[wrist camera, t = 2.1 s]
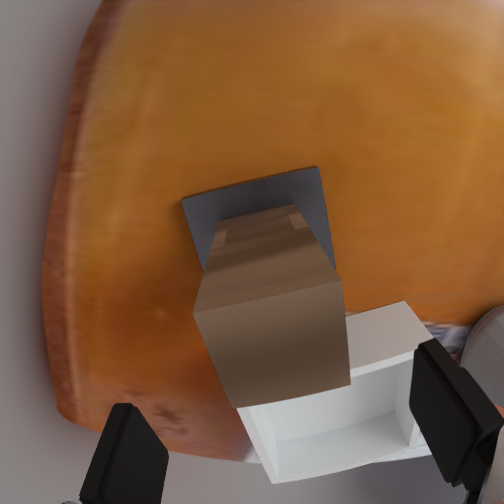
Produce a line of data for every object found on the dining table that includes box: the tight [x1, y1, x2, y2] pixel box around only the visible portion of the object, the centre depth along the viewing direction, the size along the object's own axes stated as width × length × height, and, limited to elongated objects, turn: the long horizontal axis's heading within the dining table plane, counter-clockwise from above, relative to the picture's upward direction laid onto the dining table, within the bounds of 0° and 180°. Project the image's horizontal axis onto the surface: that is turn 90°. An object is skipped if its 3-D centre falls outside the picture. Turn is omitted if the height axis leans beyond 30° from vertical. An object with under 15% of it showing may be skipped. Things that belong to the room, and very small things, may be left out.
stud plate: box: [181, 166, 336, 272], centre depth 20 cm, size 9×9×5 cm
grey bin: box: [236, 301, 433, 484], centre depth 25 cm, size 15×15×6 cm
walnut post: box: [192, 204, 351, 409], centre depth 16 cm, size 5×5×11 cm
